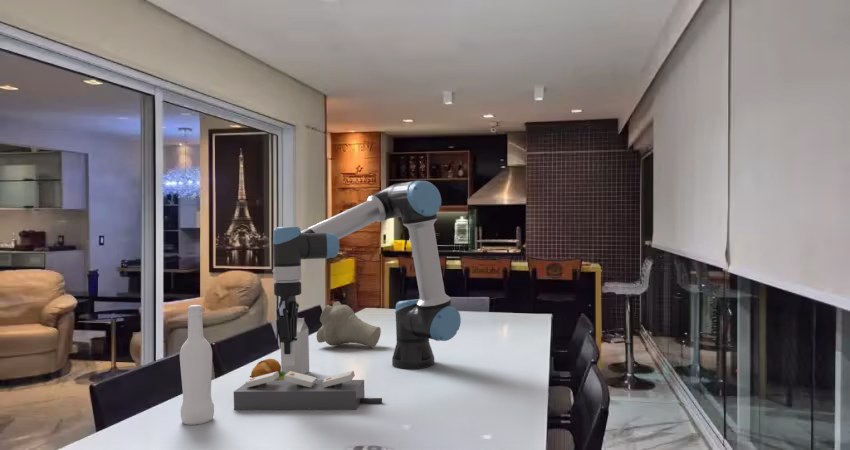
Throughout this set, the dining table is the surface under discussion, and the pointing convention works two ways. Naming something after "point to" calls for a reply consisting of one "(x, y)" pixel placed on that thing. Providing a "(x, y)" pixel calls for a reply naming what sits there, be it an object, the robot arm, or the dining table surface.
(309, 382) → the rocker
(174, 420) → the dining table surface
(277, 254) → the robot arm
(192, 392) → the bottle
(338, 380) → the rocker
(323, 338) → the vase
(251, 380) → the rocker
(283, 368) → the milk carton
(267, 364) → the cheeseburger
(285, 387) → the power strip
